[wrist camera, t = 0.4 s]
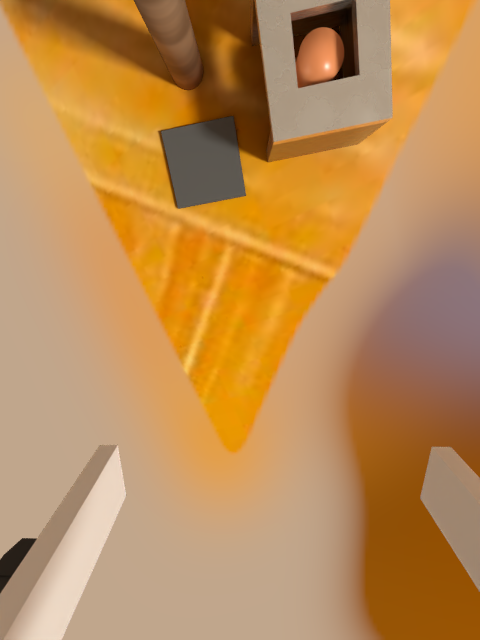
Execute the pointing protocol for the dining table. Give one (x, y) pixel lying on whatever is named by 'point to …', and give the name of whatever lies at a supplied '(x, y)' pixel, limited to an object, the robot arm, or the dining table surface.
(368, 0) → the grey box with hole
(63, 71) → the dining table surface
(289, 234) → the dining table surface
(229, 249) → the dining table surface
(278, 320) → the dining table surface
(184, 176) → the coaster
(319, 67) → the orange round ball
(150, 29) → the rod
